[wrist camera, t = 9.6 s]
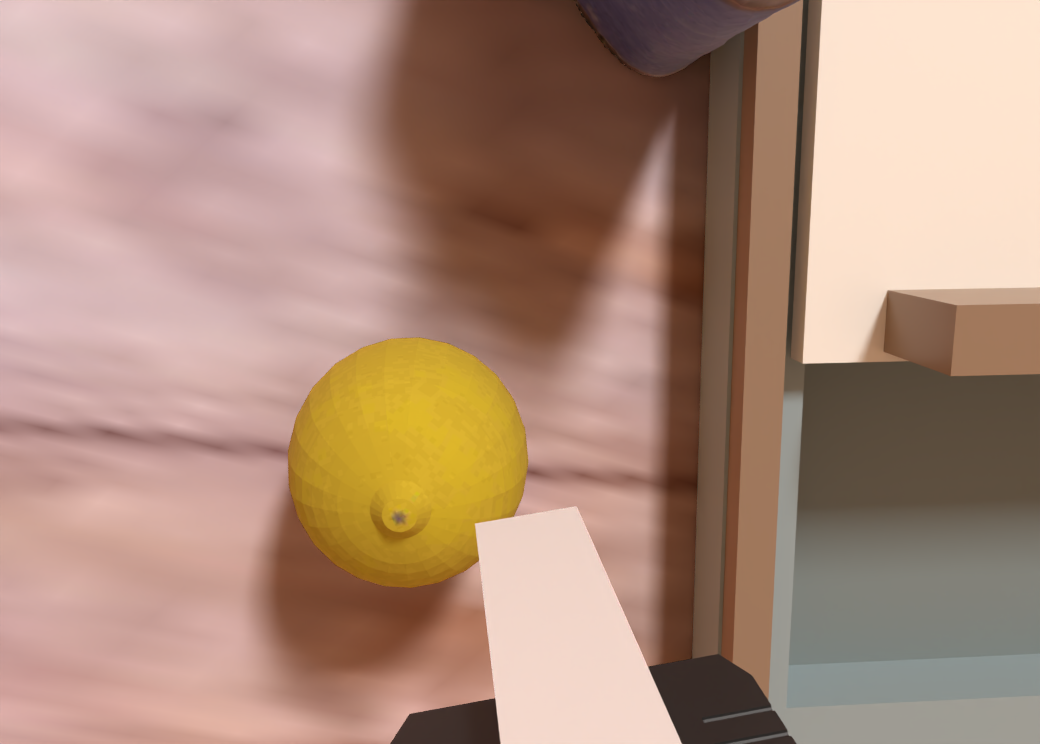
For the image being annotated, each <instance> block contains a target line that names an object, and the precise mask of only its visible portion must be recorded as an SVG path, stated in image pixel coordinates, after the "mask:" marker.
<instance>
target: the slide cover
mask: <svg viewBox="0 0 1040 744" xmlns="http://www.w3.org/2000/svg"><path fill="white" fill-rule="evenodd" d="M791 358H792V359H794V360H796V361H798V362H800V363H802V364H808V363H850V362H893V361H910V362H913V363H916V364H919V365H921V366H924V367H927V368H930V369H932V370H935V371H938V372H940V373H943V374H946V375H949V376H981V375H1021V374H1040V0H809V4H808V24H807V43H806V63H805V83H804V103H803V122H802V142H801V162H800V181H799V201H798V221H797V241H796V260H795V280H794V300H793V319H792V339H791Z"/></svg>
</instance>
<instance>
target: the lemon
mask: <svg viewBox="0 0 1040 744" xmlns="http://www.w3.org/2000/svg"><path fill="white" fill-rule="evenodd" d="M527 467H528V454H527V444H526V434H525V428H524V425H523V423H522V420H521V417H520V415H519V412H518V409H517V407H516V404H515V402H514V399H513V398H512V396H511V395H510V393H509V392H508V391H507V389H506V388H505V386H504V385H503V383H502V382H501V381H500V379H499V378H498V376H497V375H496V374H495V373H494V372H493V371H491V370H490V369H489V368H488V367H487V366H485V365H484V364H483V363H482V362H481V361H479V360H478V359H477V358H476V357H475V356H473V355H471V354H469V353H467V352H465V351H463V350H461V349H459V348H457V347H455V346H452V345H450V344H448V343H444V342H439V341H434V340H430V339H425V338H420V337H419V338H398V339H389V340H385V341H382V342H379V343H376V344H372V345H369V346H366V347H363V348H361V349H359V350H358V351H356V352H354V353H353V354H351V355H349V356H348V357H346V358H344V359H343V360H341V361H339V362H338V363H336V364H335V365H334V366H333V367H332V368H331V369H330V370H329V371H328V372H327V373H326V374H325V375H324V376H323V377H322V378H321V379H320V380H319V381H318V382H317V383H316V384H315V386H314V387H313V388H312V390H311V391H310V393H309V395H308V397H307V399H306V400H305V402H304V404H303V406H302V408H301V410H300V411H299V413H298V415H297V417H296V421H295V425H294V429H293V433H292V437H291V441H290V445H289V449H288V474H289V489H290V492H291V496H292V499H293V502H294V506H295V509H296V512H297V516H298V518H299V520H300V522H301V524H302V525H303V527H304V529H305V530H306V532H307V534H308V535H309V537H310V539H311V540H312V542H313V543H314V545H315V546H316V547H317V548H318V549H319V550H320V551H321V552H322V553H323V554H324V555H326V556H327V557H328V558H329V559H330V560H331V561H332V562H333V563H334V564H335V565H336V566H338V567H340V568H342V569H343V570H345V571H347V572H349V573H350V574H352V575H354V576H355V577H357V578H359V579H362V580H366V581H369V582H372V583H376V584H379V585H382V586H391V587H408V588H412V587H418V586H423V585H429V584H434V583H439V582H441V581H443V580H446V579H448V578H450V577H453V576H455V575H457V574H459V573H462V572H464V571H466V570H467V569H468V568H470V567H471V566H472V565H474V564H475V563H476V562H478V561H479V554H478V546H477V537H476V529H475V523H481V522H487V521H493V520H499V519H505V518H510V517H514V515H515V512H516V510H517V508H518V506H519V503H520V501H521V499H522V496H523V492H524V486H525V480H526V473H527Z"/></svg>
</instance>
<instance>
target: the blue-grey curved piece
mask: <svg viewBox="0 0 1040 744" xmlns="http://www.w3.org/2000/svg"><path fill="white" fill-rule="evenodd" d="M574 1H575V2H576V5H577V6H578V7H579V10H580V11H581V12H582V13H581V15H582V16H583V17H584V18H585V20H586V22H587V23H588V24H589V25H590V26H591V28H592V29H594V30H595V33H597V35H598V38H599V39H600V41H601V42H602V43H604V47H607V48H609V50H610V52H611V53H612V54H613V55H615V56H616V57H617V58H618V59H619V61H620V62H621V63H622V64H625V66H627V67H628V68H629V69H633V70H634V71H637V72H638V73H639V74H645V75H648V76H651V77H664V76H668V75H671V74H674V73H676V72H678V71H680V70H682V69H684V68H686V67H687V66H688V65H689V64H691V63H692V62H694V61H696V60H697V59H698V58H700V57H701V56H703V55H705V54H708V53H710V52H711V51H713V50H715V49H717V48H719V47H720V46H722V45H724V44H725V42H726V41H727V40H729V39H730V38H732V37H733V36H735V35H736V34H739V33H741V32H743V31H745V30H747V29H748V28H750V27H752V26H753V25H755V24H757V23H759V22H761V21H763V20H764V19H766V18H768V17H769V16H771V15H772V14H774V13H776V12H778V11H780V10H782V9H784V8H787V7H789V6H791V5H793V4H794V3H796V2H798V1H800V0H574Z"/></svg>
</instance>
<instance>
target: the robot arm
mask: <svg viewBox="0 0 1040 744" xmlns="http://www.w3.org/2000/svg"><path fill="white" fill-rule="evenodd" d="M475 529H476V537H477V546H478V554H479V563H480V571H481V580H482V589H483V597H484V606H485V614H486V623H487V631H488V640H489V648H490V657H491V665H492V674H493V683H494V691H495V698H494V699H489V700H484V701H478V702H473V703H467V704H462V705H456V706H451V707H446V708H440V709H435V710H429V711H424V712H418V713H413V714H409V716H408V717H407V719H406V721H405V722H404V724H403V725H402V727H401V728H400V730H399V731H398V733H397V734H396V736H395V737H394V739H393V740H392V742H391V744H796V742H795V741H794V739H793V738H792V736H789V735H788V731H787V728H786V727H785V725H784V724H783V722H782V721H781V719H780V717H779V716H778V714H777V713H776V711H773V710H772V707H771V704H770V702H769V701H768V699H767V697H766V696H765V694H764V693H763V691H762V690H761V688H760V687H759V685H758V684H757V682H756V681H755V679H754V677H753V676H752V675H751V674H749V673H748V672H746V671H745V670H743V669H741V668H740V667H738V666H737V665H735V664H733V663H732V662H730V661H729V660H727V659H726V658H724V657H722V656H721V655H719V654H715V655H710V656H704V657H699V658H693V659H688V660H683V661H677V662H672V663H666V664H661V665H655V666H650V667H648V666H647V664H646V662H645V659H644V657H643V655H642V653H641V650H640V648H639V646H638V644H637V641H636V639H635V637H634V635H633V632H632V630H631V628H630V626H629V623H628V621H627V619H626V617H625V614H624V612H623V610H622V607H621V605H620V603H619V601H618V598H617V596H616V594H615V592H614V589H613V587H612V585H611V583H610V580H609V578H608V576H607V574H606V571H605V569H604V567H603V565H602V562H601V560H600V558H599V556H598V553H597V551H596V549H595V547H594V544H593V542H592V540H591V538H590V535H589V533H588V531H587V528H586V526H585V524H584V522H583V519H582V517H581V515H580V513H579V510H578V508H577V506H574V507H569V508H563V509H557V510H551V511H545V512H540V513H534V514H528V515H522V516H516V517H510V518H505V519H499V520H493V521H487V522H481V523H475Z"/></svg>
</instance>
